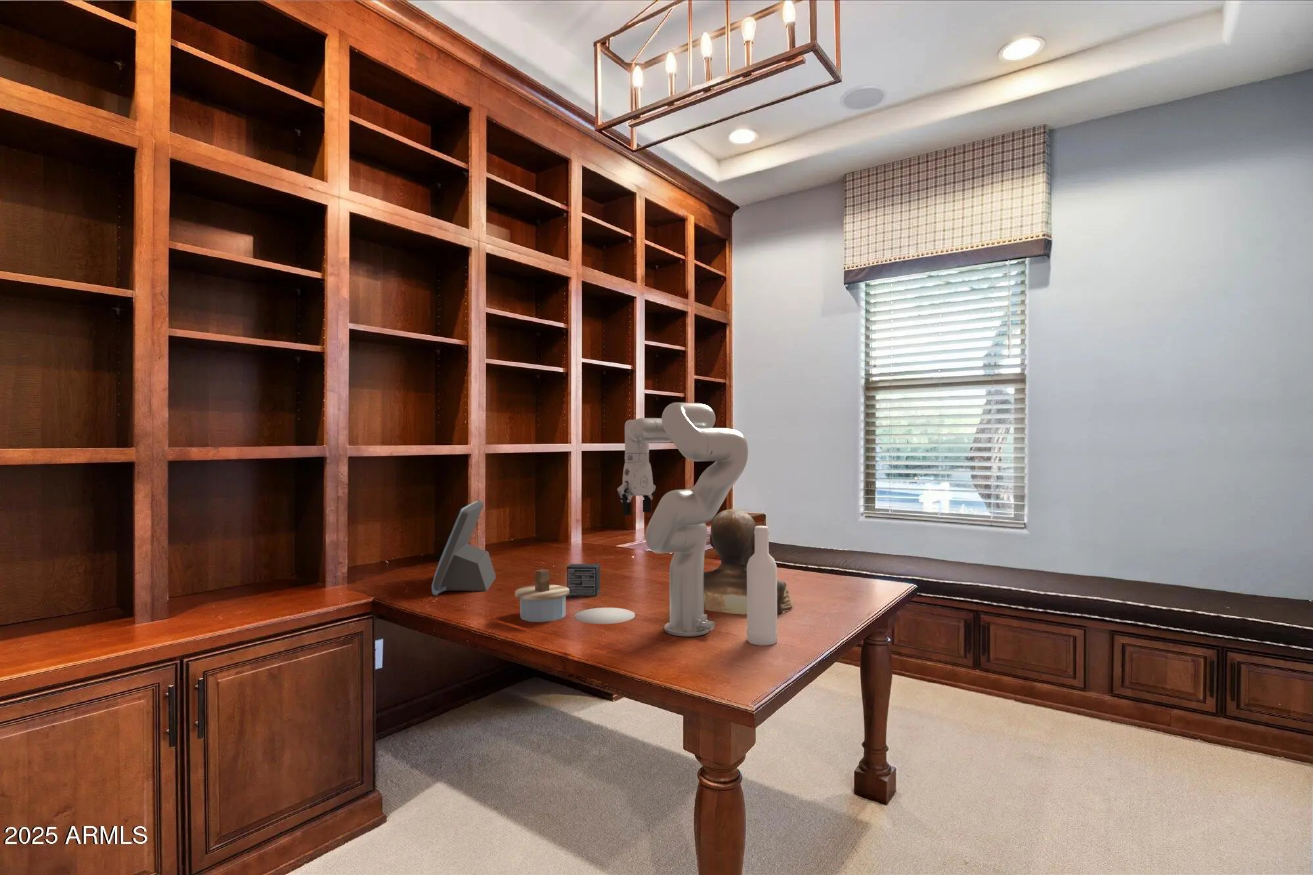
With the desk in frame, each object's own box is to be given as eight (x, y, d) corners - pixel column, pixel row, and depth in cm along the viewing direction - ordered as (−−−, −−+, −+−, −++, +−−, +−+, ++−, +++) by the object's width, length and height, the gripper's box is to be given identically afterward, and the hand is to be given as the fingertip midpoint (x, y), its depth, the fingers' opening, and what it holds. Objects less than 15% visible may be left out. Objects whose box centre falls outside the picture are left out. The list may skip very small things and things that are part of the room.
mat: (647, 616, 193) (647, 614, 193) (605, 629, 179) (605, 627, 179) (604, 606, 205) (604, 604, 205) (561, 618, 191) (561, 616, 191)
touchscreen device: (447, 575, 254) (450, 499, 255) (498, 575, 256) (500, 500, 257) (426, 596, 219) (429, 508, 220) (484, 596, 222) (487, 509, 222)
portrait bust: (780, 619, 189) (779, 514, 190) (672, 606, 205) (672, 509, 205) (798, 603, 208) (797, 508, 208) (698, 592, 224) (698, 503, 224)
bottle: (756, 634, 174) (756, 523, 175) (782, 640, 169) (782, 526, 170) (741, 641, 168) (740, 526, 168) (767, 647, 163) (767, 529, 163)
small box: (600, 593, 222) (600, 563, 222) (597, 598, 216) (597, 566, 216) (570, 593, 223) (570, 562, 224) (566, 597, 217) (566, 566, 217)
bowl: (574, 616, 193) (574, 593, 193) (540, 626, 183) (539, 601, 183) (545, 609, 201) (545, 587, 201) (511, 618, 191) (511, 594, 191)
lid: (580, 593, 193) (580, 569, 193) (538, 603, 181) (538, 578, 181) (545, 585, 204) (545, 563, 204) (503, 594, 191) (503, 571, 191)
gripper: (627, 459, 193) (628, 516, 193) (663, 458, 206) (663, 512, 206) (609, 459, 198) (609, 515, 197) (645, 458, 211) (645, 510, 211)
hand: (637, 513), depth 202 cm, fingers open, 9 cm apart
